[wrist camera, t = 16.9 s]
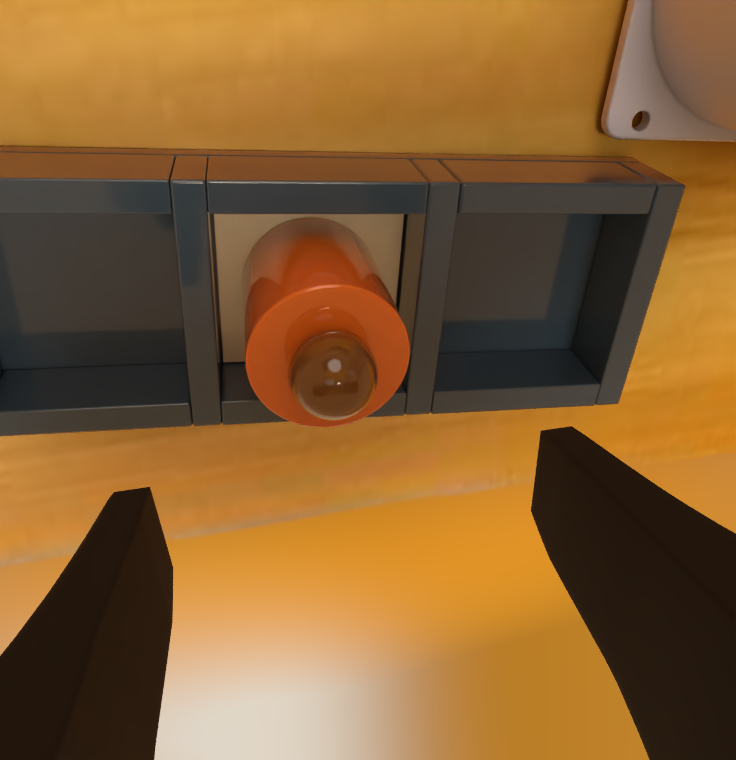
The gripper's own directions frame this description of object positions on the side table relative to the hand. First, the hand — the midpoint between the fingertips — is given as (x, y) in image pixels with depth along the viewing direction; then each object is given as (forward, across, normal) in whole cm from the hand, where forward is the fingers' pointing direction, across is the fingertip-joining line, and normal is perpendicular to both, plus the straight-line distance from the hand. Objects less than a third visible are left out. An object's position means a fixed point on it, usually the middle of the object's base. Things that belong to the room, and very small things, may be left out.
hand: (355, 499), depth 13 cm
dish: (+9, 0, -1) cm, 9 cm away
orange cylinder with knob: (+8, 0, -1) cm, 8 cm away
